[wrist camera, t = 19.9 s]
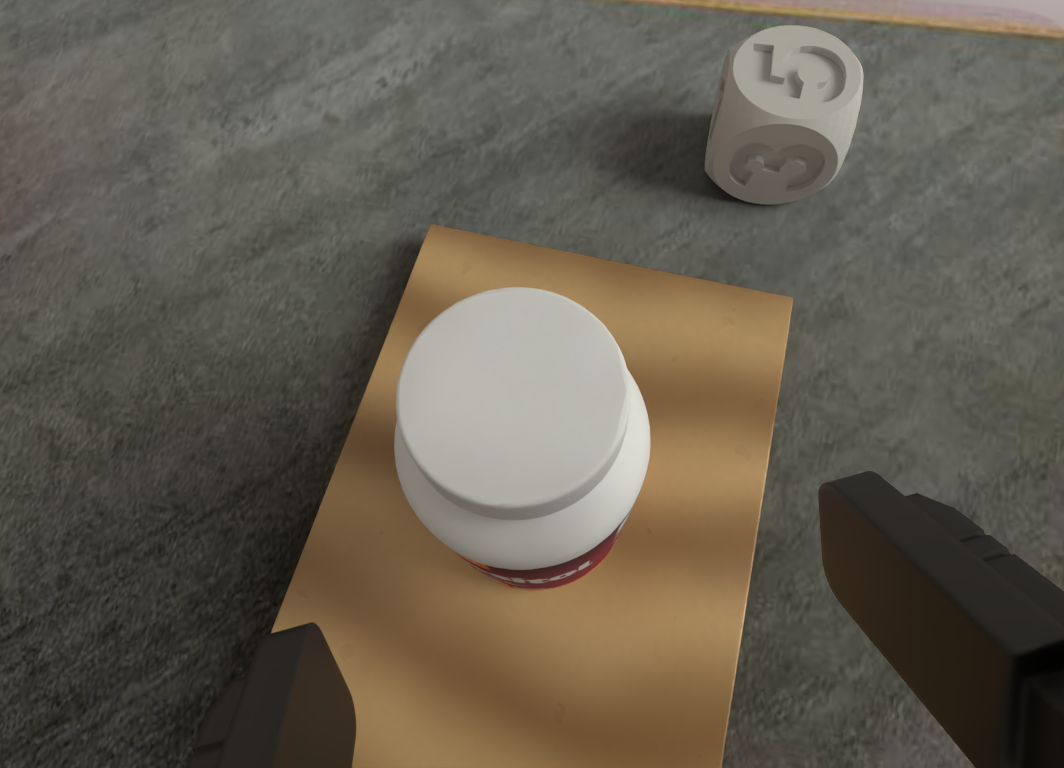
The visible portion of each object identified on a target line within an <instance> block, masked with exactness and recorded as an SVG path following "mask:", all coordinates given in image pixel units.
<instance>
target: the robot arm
mask: <svg viewBox="0 0 1064 768" xmlns="http://www.w3.org/2000/svg"><path fill="white" fill-rule="evenodd" d="M818 495H819V513H820V529H821V545H822V560H823V566H824V571H825V574H826V577H827V580H828V582H829V585H830V587H831V589H832V591H833V593H834V594H835V596H836V598H837V599H838V601H839V602H840V603H841V605H842V606H843V607H844V608H845V609H846V611H847V612H848V613H849V614H850V615H851V617H852V618H853V619H854V620H855V622H856V623H857V624H858V625H859V626H860V628H861V629H862V630H863V631H864V632H865V634H866V635H867V636H868V637H869V639H870V640H871V641H872V642H873V643H874V645H875V646H876V647H877V648H878V649H879V651H880V652H881V653H882V654H883V656H884V657H885V658H886V659H887V660H888V662H889V663H890V664H891V665H892V666H893V668H894V669H895V670H896V671H897V673H898V674H899V675H900V676H901V677H902V679H903V680H904V681H905V682H906V683H907V685H908V686H909V687H910V688H911V690H912V691H913V692H914V693H915V694H916V696H917V697H918V698H919V699H920V700H921V702H922V703H923V704H924V705H925V707H926V708H927V709H928V710H929V711H930V713H931V714H932V715H933V716H934V717H935V719H936V720H937V721H938V722H939V724H940V725H941V726H942V727H943V728H944V730H945V731H946V732H947V733H948V734H949V736H950V737H951V738H952V739H953V741H954V742H955V743H956V744H957V745H958V747H959V748H960V749H961V750H962V751H963V753H964V754H965V755H966V756H967V758H968V759H969V760H970V761H971V762H972V764H973V765H974V766H975V767H976V768H1064V591H1062V590H1061V589H1060V588H1059V587H1057V586H1056V585H1055V584H1053V583H1052V582H1051V581H1049V580H1048V579H1047V578H1045V577H1044V576H1043V575H1041V574H1040V573H1039V572H1037V571H1036V570H1035V569H1034V568H1032V567H1031V566H1030V565H1028V564H1027V563H1026V562H1024V561H1023V560H1022V559H1020V558H1019V557H1018V556H1016V555H1015V554H1012V555H1011V554H1010V553H1009V551H1008V549H1007V548H1006V547H1005V546H1003V545H1002V544H1001V543H999V542H998V541H997V540H995V539H994V538H993V537H991V536H990V535H987V536H986V535H985V534H984V530H982V529H981V528H980V527H978V526H977V525H976V524H974V523H973V522H972V521H970V520H969V519H968V518H967V517H965V516H964V515H963V514H961V513H960V512H959V511H957V510H956V509H955V508H952V507H950V506H947V505H945V504H942V503H940V502H937V501H935V500H932V499H930V498H928V497H925V496H923V495H920V494H918V493H916V494H912V495H909V496H904V495H903V494H901V493H900V492H899V491H898V490H897V489H895V488H894V487H893V486H892V485H890V484H889V483H888V482H887V481H885V480H884V479H883V478H882V477H881V476H879V475H878V474H876V473H874V472H872V471H867V472H863V473H860V474H856V475H852V476H849V477H845V478H841V479H838V480H834V481H831V482H827V483H823V484H822V485H821V486H820V488H819V494H818ZM355 740H356V714H355V708H354V703H353V699H352V696H351V693H350V690H349V688H348V686H347V684H346V682H345V680H344V678H343V675H342V673H341V671H340V669H339V667H338V665H337V663H336V660H335V658H334V656H333V654H332V652H331V650H330V648H329V646H328V643H327V641H326V639H325V637H324V635H323V633H322V631H321V629H320V628H319V626H318V625H317V624H316V623H314V622H311V623H307V624H303V625H300V626H296V627H292V628H289V629H285V630H281V631H278V632H274V633H271V634H267V635H264V636H263V637H261V639H260V640H259V642H258V644H257V647H256V650H255V653H254V656H253V659H252V662H251V665H250V667H249V670H248V673H247V676H246V677H243V678H239V679H236V680H232V681H231V682H230V684H229V685H228V686H227V688H226V689H225V690H224V691H223V693H222V694H221V695H220V697H219V698H218V699H217V701H216V702H215V703H214V705H213V706H212V707H211V709H210V710H209V711H208V712H207V714H206V716H205V719H204V721H203V724H202V727H201V729H200V732H199V734H198V737H197V739H196V742H195V744H194V747H193V751H194V754H193V755H191V756H190V757H189V760H188V762H187V765H186V768H352V762H353V755H354V747H355Z"/></svg>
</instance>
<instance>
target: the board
mask: <svg viewBox="0 0 1064 768" xmlns="http://www.w3.org/2000/svg"><path fill="white" fill-rule="evenodd" d="M508 287H526V288H535V289H542V290H546V291H550V292H553V293H556V294H559V295H561V296H564V297H567V298H568V299H570V300H572V301H574V302H576V303H578V304H579V305H581V306H583V307H584V308H585V309H587V310H588V311H589V312H590V313H592V314H593V315H594V316H596V317H597V318H598V319H599V320H600V321H601V322H602V323H603V324H604V325H605V327H606V328H607V329H608V331H609V332H610V333H611V335H612V336H613V338H614V339H615V341H616V343H617V345H618V346H619V348H620V350H621V352H622V355H623V357H624V360H625V363H626V366H627V369H628V371H629V372H630V374H631V375H632V377H633V379H634V381H635V382H636V384H637V386H638V388H639V390H640V393H641V395H642V397H643V400H644V403H645V406H646V410H647V413H648V419H649V425H650V457H649V462H648V468H647V472H646V475H645V478H644V481H643V485H642V488H641V490H640V492H639V495H638V497H637V499H636V501H635V504H634V506H633V507H632V509H631V512H630V514H629V516H628V518H627V520H626V522H625V524H624V526H623V528H622V530H621V533H620V535H619V537H618V539H617V541H616V543H615V545H614V546H613V548H612V550H611V551H610V553H609V554H608V555H607V556H606V558H605V559H604V560H603V561H602V562H601V563H600V564H599V565H598V566H597V567H596V568H595V569H593V570H592V571H591V572H590V573H588V574H587V575H586V576H584V577H583V578H581V579H579V580H577V581H575V582H573V583H571V584H568V585H566V586H563V587H559V588H555V589H550V590H543V591H525V590H519V589H515V588H511V587H508V586H505V585H502V584H500V583H497V582H495V581H493V580H491V579H489V578H487V577H486V576H484V575H483V574H481V573H480V572H479V571H477V570H476V569H475V568H474V567H472V566H471V565H470V564H469V563H468V562H467V561H465V560H464V559H463V558H461V557H460V556H459V555H458V554H456V553H455V552H454V551H453V550H451V549H450V548H449V547H447V546H446V545H445V544H443V543H442V542H441V541H440V540H439V539H437V538H436V537H435V536H434V535H433V534H432V533H431V532H430V531H429V530H428V529H427V528H426V526H425V525H424V524H423V523H422V522H421V520H420V519H419V518H418V516H417V515H416V514H415V512H414V510H413V509H412V507H411V506H410V504H409V502H408V501H407V499H406V496H405V494H404V492H403V489H402V486H401V483H400V480H399V477H398V473H397V468H396V463H395V453H394V438H395V427H396V422H397V416H396V389H397V382H398V378H399V374H400V370H401V368H402V365H403V363H404V360H405V357H406V355H407V353H408V351H409V350H410V348H411V346H412V345H413V343H414V341H415V340H416V338H417V337H418V336H419V334H420V333H421V332H422V331H423V329H424V328H425V327H426V326H427V325H428V324H429V323H430V322H431V321H432V320H433V319H435V318H436V317H437V316H438V315H439V314H441V313H442V312H443V311H445V310H446V309H448V308H449V307H451V306H452V305H454V304H455V303H457V302H459V301H461V300H463V299H465V298H467V297H470V296H473V295H475V294H478V293H482V292H485V291H488V290H494V289H501V288H508ZM792 305H793V298H791V297H786V296H782V295H777V294H772V293H767V292H762V291H757V290H752V289H747V288H742V287H737V286H732V285H728V284H723V283H718V282H713V281H708V280H703V279H698V278H693V277H688V276H683V275H678V274H673V273H669V272H664V271H659V270H654V269H649V268H644V267H639V266H634V265H629V264H624V263H619V262H614V261H610V260H605V259H600V258H595V257H590V256H585V255H580V254H575V253H570V252H565V251H560V250H555V249H551V248H546V247H541V246H536V245H531V244H526V243H521V242H516V241H511V240H506V239H501V238H497V237H492V236H487V235H482V234H477V233H472V232H467V231H462V230H457V229H452V228H447V227H442V226H438V225H433V224H431V225H430V226H429V229H428V231H427V234H426V237H425V239H424V242H423V244H422V247H421V249H420V252H419V255H418V257H417V260H416V262H415V265H414V267H413V270H412V272H411V275H410V278H409V280H408V283H407V285H406V288H405V290H404V293H403V296H402V298H401V301H400V303H399V306H398V308H397V311H396V313H395V316H394V319H393V321H392V324H391V326H390V329H389V331H388V334H387V336H386V339H385V342H384V344H383V347H382V349H381V352H380V354H379V357H378V360H377V362H376V365H375V367H374V370H373V372H372V375H371V377H370V380H369V383H368V385H367V388H366V390H365V393H364V395H363V398H362V400H361V403H360V406H359V408H358V411H357V413H356V416H355V418H354V421H353V424H352V426H351V429H350V431H349V434H348V436H347V439H346V441H345V444H344V447H343V449H342V452H341V454H340V457H339V459H338V462H337V464H336V467H335V470H334V472H333V475H332V477H331V480H330V482H329V485H328V488H327V490H326V493H325V495H324V498H323V500H322V503H321V505H320V508H319V511H318V513H317V516H316V518H315V521H314V523H313V526H312V528H311V531H310V534H309V536H308V539H307V541H306V544H305V546H304V549H303V552H302V554H301V557H300V559H299V562H298V564H297V567H296V569H295V572H294V575H293V577H292V580H291V582H290V585H289V587H288V590H287V593H286V595H285V598H284V600H283V603H282V605H281V608H280V610H279V613H278V616H277V618H276V621H275V623H274V626H273V628H272V631H271V633H274V632H278V631H281V630H285V629H289V628H292V627H296V626H300V625H303V624H307V623H311V622H314V623H316V624H317V625H318V626H319V628H320V629H321V631H322V633H323V635H324V637H325V639H326V641H327V643H328V646H329V648H330V650H331V652H332V654H333V656H334V658H335V660H336V663H337V665H338V667H339V669H340V671H341V673H342V675H343V678H344V680H345V682H346V684H347V686H348V688H349V690H350V693H351V696H352V699H353V703H354V708H355V714H356V740H355V747H354V755H353V762H352V768H722V761H723V755H724V748H725V742H726V735H727V729H728V722H729V715H730V709H731V702H732V696H733V689H734V683H735V676H736V670H737V663H738V657H739V650H740V644H741V637H742V631H743V624H744V618H745V611H746V605H747V598H748V592H749V585H750V579H751V572H752V566H753V559H754V553H755V546H756V540H757V533H758V527H759V520H760V514H761V507H762V501H763V494H764V488H765V481H766V475H767V468H768V462H769V455H770V449H771V442H772V436H773V429H774V423H775V416H776V410H777V403H778V397H779V390H780V384H781V377H782V371H783V364H784V358H785V351H786V345H787V338H788V332H789V325H790V318H791V312H792ZM271 633H270V634H271Z"/></svg>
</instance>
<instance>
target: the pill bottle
mask: <svg viewBox="0 0 1064 768" xmlns="http://www.w3.org/2000/svg"><path fill="white" fill-rule="evenodd" d="M396 416H397V422H396V427H395V438H394V453H395V463H396V468H397V473H398V477H399V480H400V483H401V486H402V489H403V492H404V494H405V496H406V499H407V501H408V502H409V504H410V506H411V507H412V509H413V510H414V512H415V514H416V515H417V516H418V518H419V519H420V520H421V522H422V523H423V524H424V525H425V526H426V528H427V529H428V530H429V531H430V532H431V533H432V534H433V535H434V536H435V537H436V538H437V539H439V540H440V541H441V542H442V543H443V544H445V545H446V546H447V547H449V548H450V549H451V550H453V551H454V552H455V553H456V554H458V555H459V556H460V557H461V558H463V559H464V560H465V561H467V562H468V563H469V564H470V565H471V566H472V567H474V568H475V569H476V570H477V571H479V572H480V573H481V574H483V575H484V576H486V577H487V578H489V579H491V580H493V581H495V582H497V583H500V584H502V585H505V586H508V587H511V588H515V589H519V590H525V591H543V590H550V589H555V588H559V587H563V586H566V585H568V584H571V583H573V582H575V581H577V580H579V579H581V578H583V577H584V576H586V575H587V574H588V573H590V572H591V571H592V570H593V569H595V568H596V567H597V566H598V565H599V564H600V563H601V562H602V561H603V560H604V559H605V558H606V556H607V555H608V554H609V553H610V551H611V550H612V548H613V546H614V545H615V543H616V541H617V539H618V537H619V535H620V533H621V530H622V528H623V526H624V524H625V522H626V520H627V518H628V516H629V514H630V512H631V509H632V507H633V506H634V504H635V501H636V499H637V497H638V495H639V492H640V490H641V488H642V485H643V481H644V478H645V475H646V472H647V468H648V462H649V457H650V425H649V419H648V413H647V410H646V406H645V403H644V400H643V397H642V395H641V393H640V390H639V388H638V386H637V384H636V382H635V381H634V379H633V377H632V375H631V374H630V372H629V371H628V369H627V366H626V363H625V360H624V357H623V355H622V352H621V350H620V348H619V346H618V345H617V343H616V341H615V339H614V338H613V336H612V335H611V333H610V332H609V331H608V329H607V328H606V327H605V325H604V324H603V323H602V322H601V321H600V320H599V319H598V318H597V317H596V316H594V315H593V314H592V313H590V312H589V311H588V310H587V309H585V308H584V307H583V306H581V305H579V304H578V303H576V302H574V301H572V300H570V299H568V298H567V297H564V296H561V295H559V294H556V293H553V292H550V291H546V290H542V289H535V288H526V287H508V288H501V289H494V290H488V291H485V292H482V293H478V294H475V295H473V296H470V297H467V298H465V299H463V300H461V301H459V302H457V303H455V304H454V305H452V306H451V307H449V308H448V309H446V310H445V311H443V312H442V313H441V314H439V315H438V316H437V317H436V318H435V319H433V320H432V321H431V322H430V323H429V324H428V325H427V326H426V327H425V328H424V329H423V331H422V332H421V333H420V334H419V336H418V337H417V338H416V340H415V341H414V343H413V345H412V346H411V348H410V350H409V351H408V353H407V355H406V357H405V360H404V363H403V365H402V368H401V370H400V374H399V378H398V382H397V389H396Z"/></svg>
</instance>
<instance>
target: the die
mask: <svg viewBox="0 0 1064 768" xmlns="http://www.w3.org/2000/svg"><path fill="white" fill-rule="evenodd" d="M862 91H863V69H862V66H861V64H860V62H859V61H858V59H857V58H856V56H855V55H854V54H853V52H852V51H851V50H850V49H849V48H848V47H847V46H846V45H845V44H844V43H843V42H842V41H840V40H839V39H837V38H836V37H834V36H832V35H831V34H829V33H826V32H824V31H821V30H818V29H815V28H811V27H806V26H797V25H787V26H778V27H773V28H769V29H766V30H763V31H760V32H758V33H755V34H753V35H751V36H749V37H747V38H745V39H744V40H742V41H741V42H739V43H737V44H736V45H735V46H733V47H732V48H731V49H730V50H729V51H728V52H727V55H726V58H725V61H724V65H723V68H722V72H721V76H720V80H719V84H718V89H717V93H716V98H715V103H714V108H713V113H712V118H711V124H710V129H709V135H708V142H707V148H706V156H705V172H706V173H707V174H708V176H709V177H710V178H711V179H712V180H713V181H714V183H715V184H717V185H718V186H719V187H720V188H721V189H723V190H724V191H725V192H727V193H728V194H730V195H732V196H734V197H736V198H738V199H740V200H743V201H747V202H751V203H756V204H783V203H789V202H794V201H797V200H800V199H803V198H806V197H808V196H810V195H812V194H814V193H816V192H817V191H819V190H821V189H822V188H824V187H825V186H827V185H828V184H829V183H831V182H832V180H833V179H834V178H835V176H836V175H837V173H838V171H839V169H840V167H841V165H842V163H843V161H844V158H845V156H846V154H847V151H848V148H849V145H850V143H851V140H852V136H853V133H854V130H855V126H856V122H857V118H858V114H859V109H860V104H861V98H862Z"/></svg>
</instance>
